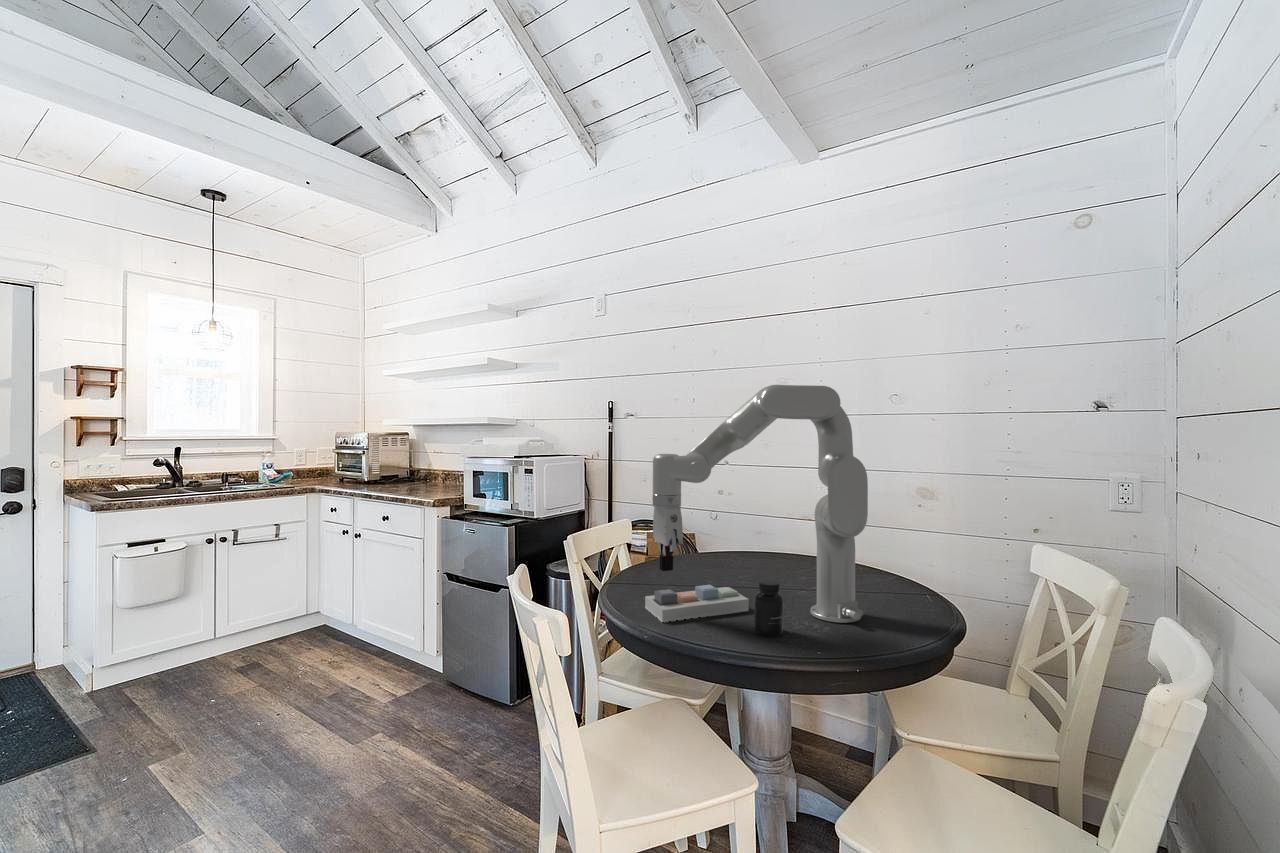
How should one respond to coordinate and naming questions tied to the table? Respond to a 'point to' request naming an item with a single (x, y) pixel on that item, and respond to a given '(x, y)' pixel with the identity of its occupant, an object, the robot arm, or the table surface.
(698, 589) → the key slate
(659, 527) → the robot arm
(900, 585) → the table surface
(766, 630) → the supplement bottle
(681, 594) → the key terracotta
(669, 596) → the key charcoal
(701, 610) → the keypad
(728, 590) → the key sage
